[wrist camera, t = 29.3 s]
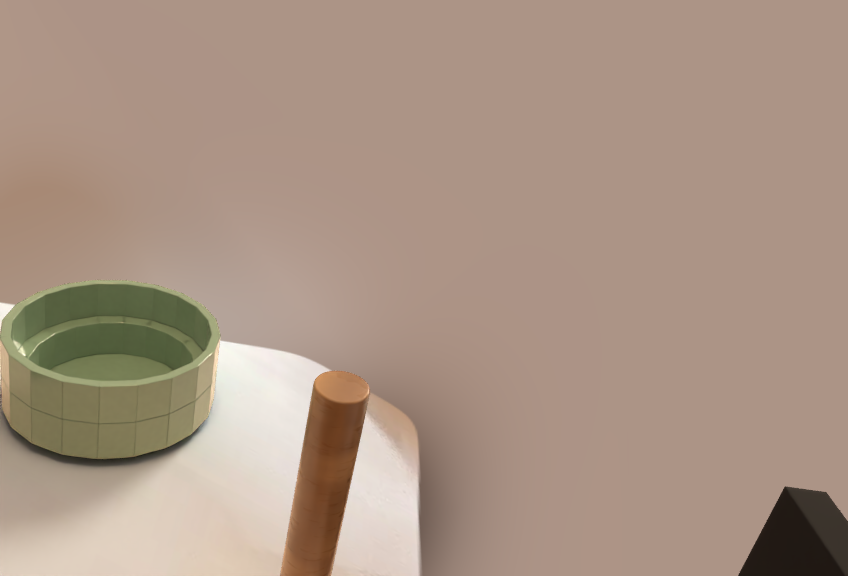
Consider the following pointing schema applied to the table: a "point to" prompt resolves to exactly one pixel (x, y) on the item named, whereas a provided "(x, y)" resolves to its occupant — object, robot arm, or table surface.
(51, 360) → the bowl
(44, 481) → the table surface
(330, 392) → the brown rod with base
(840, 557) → the robot arm
